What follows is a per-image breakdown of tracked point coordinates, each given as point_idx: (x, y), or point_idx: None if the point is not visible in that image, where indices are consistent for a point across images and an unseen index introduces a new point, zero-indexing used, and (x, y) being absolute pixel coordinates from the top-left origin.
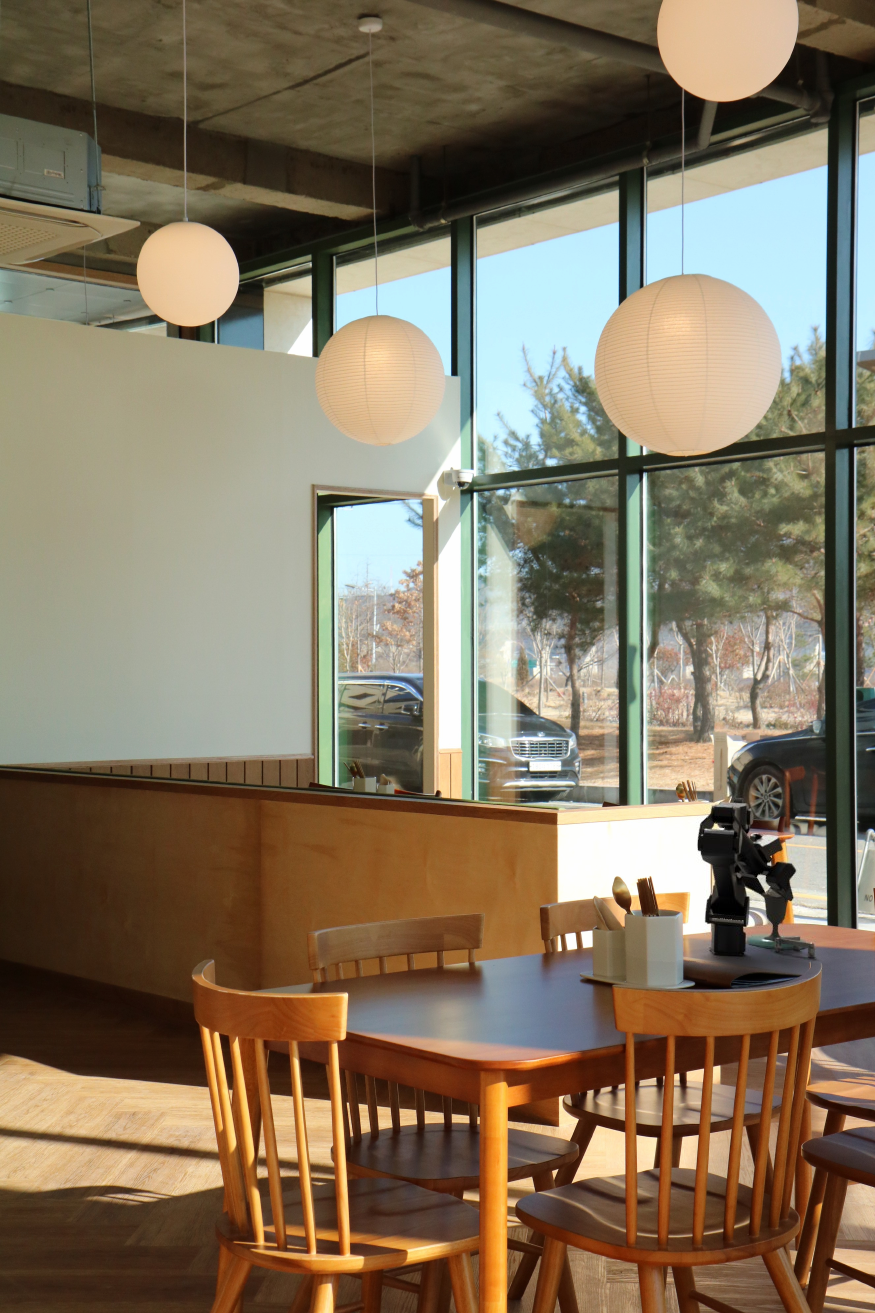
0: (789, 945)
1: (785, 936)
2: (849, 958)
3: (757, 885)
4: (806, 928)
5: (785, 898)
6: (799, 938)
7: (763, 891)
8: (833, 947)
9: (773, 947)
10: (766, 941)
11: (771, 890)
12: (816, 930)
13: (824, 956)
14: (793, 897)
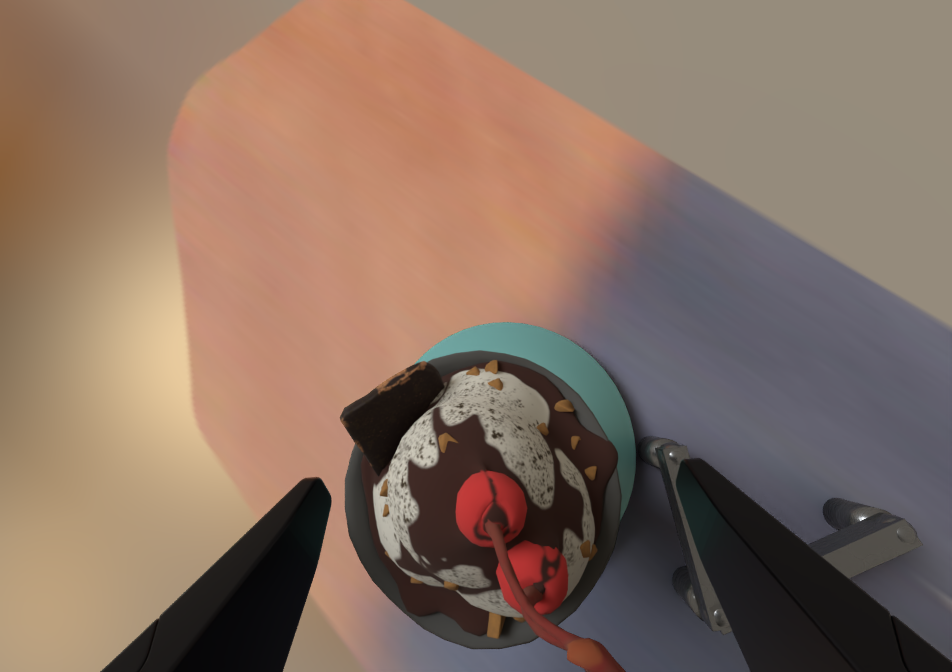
0: (634, 474)
1: (443, 344)
2: (856, 340)
3: (259, 614)
4: (260, 112)
5: (707, 563)
6: (687, 453)
7: (313, 506)
8: (602, 244)
9: None
10: None
11: (516, 618)
12: (298, 102)
13: (803, 421)
14: (707, 463)
